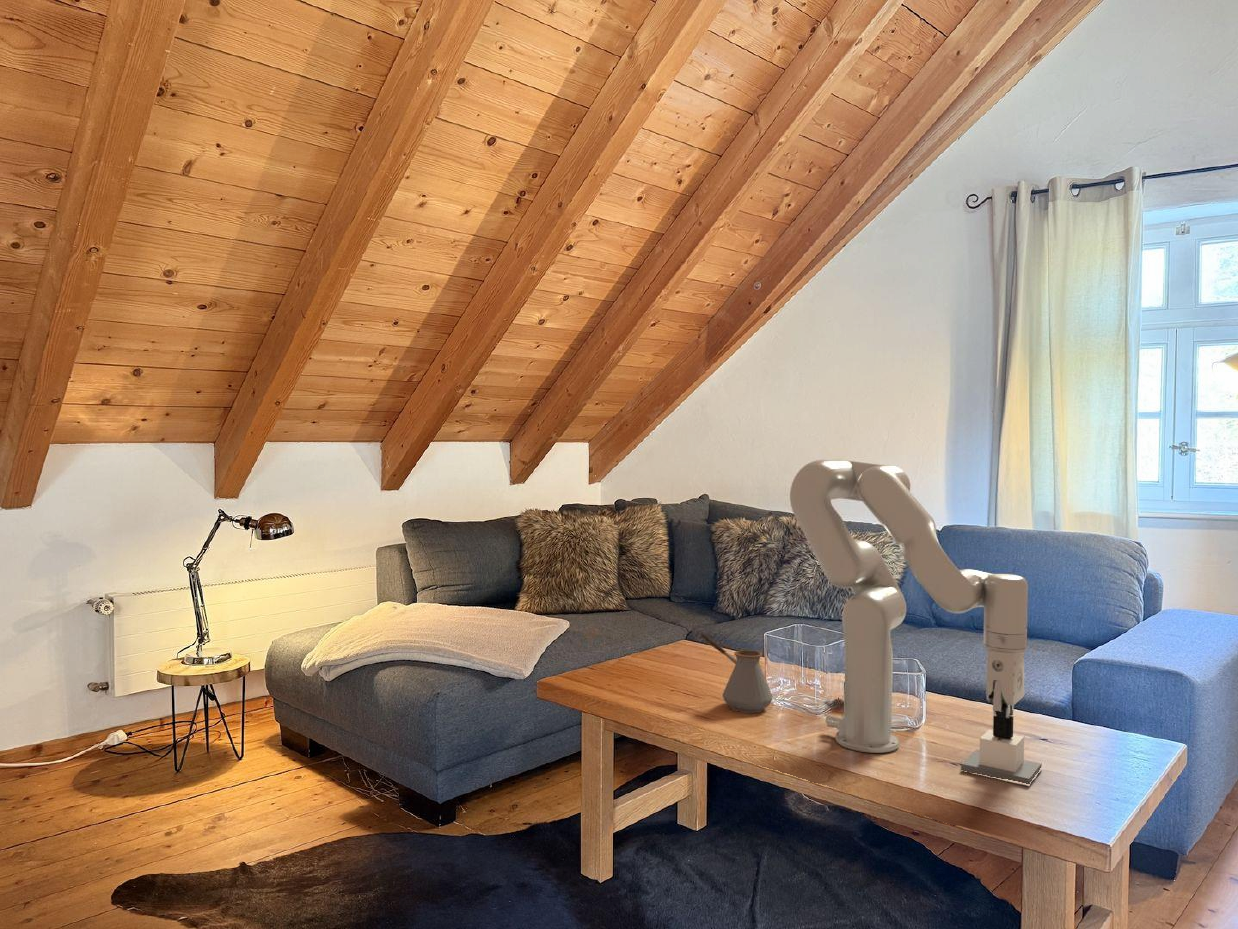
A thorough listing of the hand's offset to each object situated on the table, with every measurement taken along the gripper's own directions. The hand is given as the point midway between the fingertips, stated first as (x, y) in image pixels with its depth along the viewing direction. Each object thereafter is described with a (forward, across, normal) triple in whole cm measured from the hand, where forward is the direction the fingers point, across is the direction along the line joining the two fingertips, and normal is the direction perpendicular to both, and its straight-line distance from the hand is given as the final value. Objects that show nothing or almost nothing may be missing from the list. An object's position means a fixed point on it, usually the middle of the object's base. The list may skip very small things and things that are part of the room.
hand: (1002, 736), depth 170 cm
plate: (+7, 0, 0) cm, 7 cm away
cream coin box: (+5, 0, 0) cm, 5 cm away
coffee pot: (+7, +6, +62) cm, 63 cm away
